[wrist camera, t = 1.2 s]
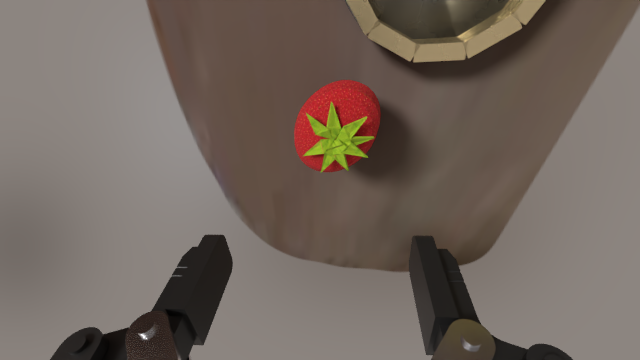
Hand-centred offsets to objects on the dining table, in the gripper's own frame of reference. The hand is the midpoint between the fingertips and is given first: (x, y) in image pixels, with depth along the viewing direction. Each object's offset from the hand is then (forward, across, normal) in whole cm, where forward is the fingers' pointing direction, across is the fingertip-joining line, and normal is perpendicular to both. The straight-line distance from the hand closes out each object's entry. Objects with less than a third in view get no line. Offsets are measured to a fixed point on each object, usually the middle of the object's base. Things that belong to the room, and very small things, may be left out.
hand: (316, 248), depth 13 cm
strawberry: (+18, 0, 0) cm, 18 cm away
